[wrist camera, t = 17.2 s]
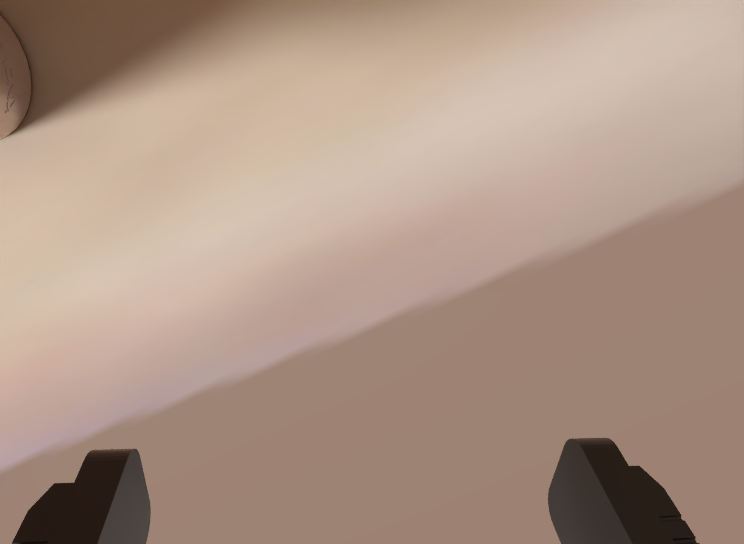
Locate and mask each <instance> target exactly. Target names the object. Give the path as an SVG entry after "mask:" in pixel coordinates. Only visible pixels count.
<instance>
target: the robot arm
mask: <svg viewBox="0 0 744 544" xmlns="http://www.w3.org/2000/svg"><path fill="white" fill-rule="evenodd" d="M30 96H31V76H30V70H29V66H28V63H27V59H26V56H25V53H24V51H23V49H22V47H21V45H20V42H19V40H18V38H17V37H16V35H15V34H14V32H13V31H12V29H11V28H10V26H9V25H8V23H7V22H6V21H5V20H4V19H3V18H2V17H1V16H0V139H1V138H4V137H6V136H7V135H9V134H10V133H11V132H13V131H14V130H15V129H16V128H17V127H18V126H19V124H20V123H21V122H22V120H23V119H24V117H25V114H26V112H27V109H28V107H29V103H30ZM548 504H549V512H550V516H551V520H552V522H553V525H554V527H555V530H556V532H557V535H558V537H559V539H560V542H561V544H699V543H696V541H695V536H694V534H693V533H692V531H691V530H690V528H689V527H688V525H687V523H686V522H685V521H683V520H682V519H681V514H680V512H679V511H678V510H677V508H676V506H675V505H674V503H673V502H672V500H671V498H670V497H669V496H668V494H667V492H666V491H665V489H664V488H663V487H662V486H661V485H660V484H659V483H658V482H656V481H655V480H654V479H653V478H652V477H651V476H650V475H649V474H648V473H647V472H645V471H644V470H643V469H642V468H641V467H640V466H628V464H627V462H626V461H625V459H624V457H623V456H622V454H621V452H620V451H619V449H618V447H617V446H616V445H615V443H614V442H613V441H612V440H611V439H609V438H580V439H569V440H567V442H566V443H565V445H564V448H563V451H562V454H561V456H560V459H559V462H558V465H557V468H556V471H555V473H554V476H553V479H552V482H551V485H550V488H549V493H548ZM149 525H150V500H149V495H148V491H147V486H146V482H145V477H144V473H143V468H142V464H141V459H140V455H139V452H138V450H137V449H111V450H92V451H90V452H89V453H88V454H87V456H86V457H85V460H84V461H83V464H82V466H81V468H80V471H79V473H78V475H77V478H76V480H75V482H74V483H55V484H53V486H51V487H50V489H49V490H48V491H47V492H46V493H45V494H44V495H43V496H42V497H41V498H40V499H39V500H38V501H37V502H36V503H35V504H34V505H33V506H32V507H31V508H30V509H29V511H28V512H27V514H26V516H25V518H24V520H23V522H22V524H21V526H20V528H19V530H18V532H17V534H16V536H15V538H14V540H13V542H12V544H146V541H147V536H148V532H149Z"/></svg>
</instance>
